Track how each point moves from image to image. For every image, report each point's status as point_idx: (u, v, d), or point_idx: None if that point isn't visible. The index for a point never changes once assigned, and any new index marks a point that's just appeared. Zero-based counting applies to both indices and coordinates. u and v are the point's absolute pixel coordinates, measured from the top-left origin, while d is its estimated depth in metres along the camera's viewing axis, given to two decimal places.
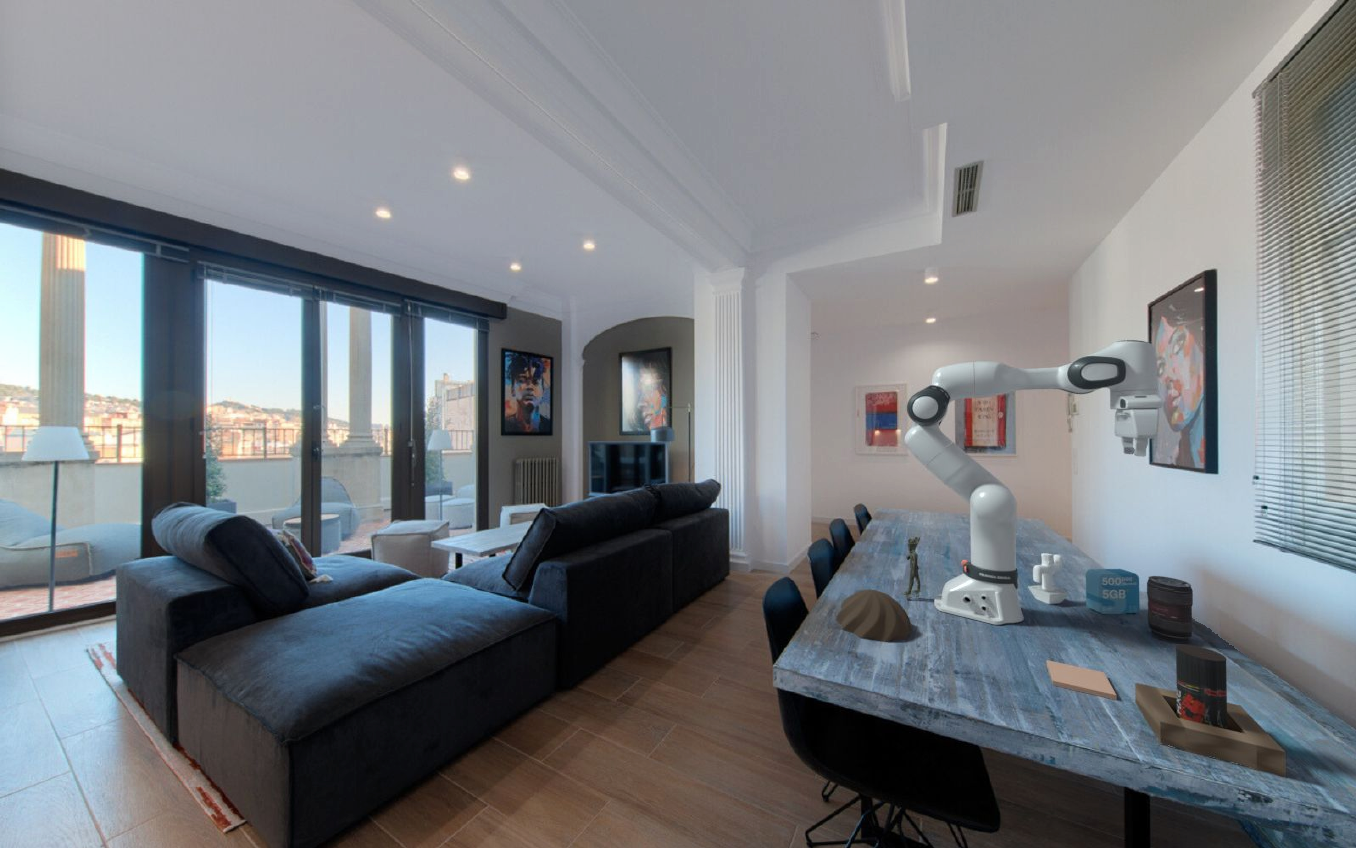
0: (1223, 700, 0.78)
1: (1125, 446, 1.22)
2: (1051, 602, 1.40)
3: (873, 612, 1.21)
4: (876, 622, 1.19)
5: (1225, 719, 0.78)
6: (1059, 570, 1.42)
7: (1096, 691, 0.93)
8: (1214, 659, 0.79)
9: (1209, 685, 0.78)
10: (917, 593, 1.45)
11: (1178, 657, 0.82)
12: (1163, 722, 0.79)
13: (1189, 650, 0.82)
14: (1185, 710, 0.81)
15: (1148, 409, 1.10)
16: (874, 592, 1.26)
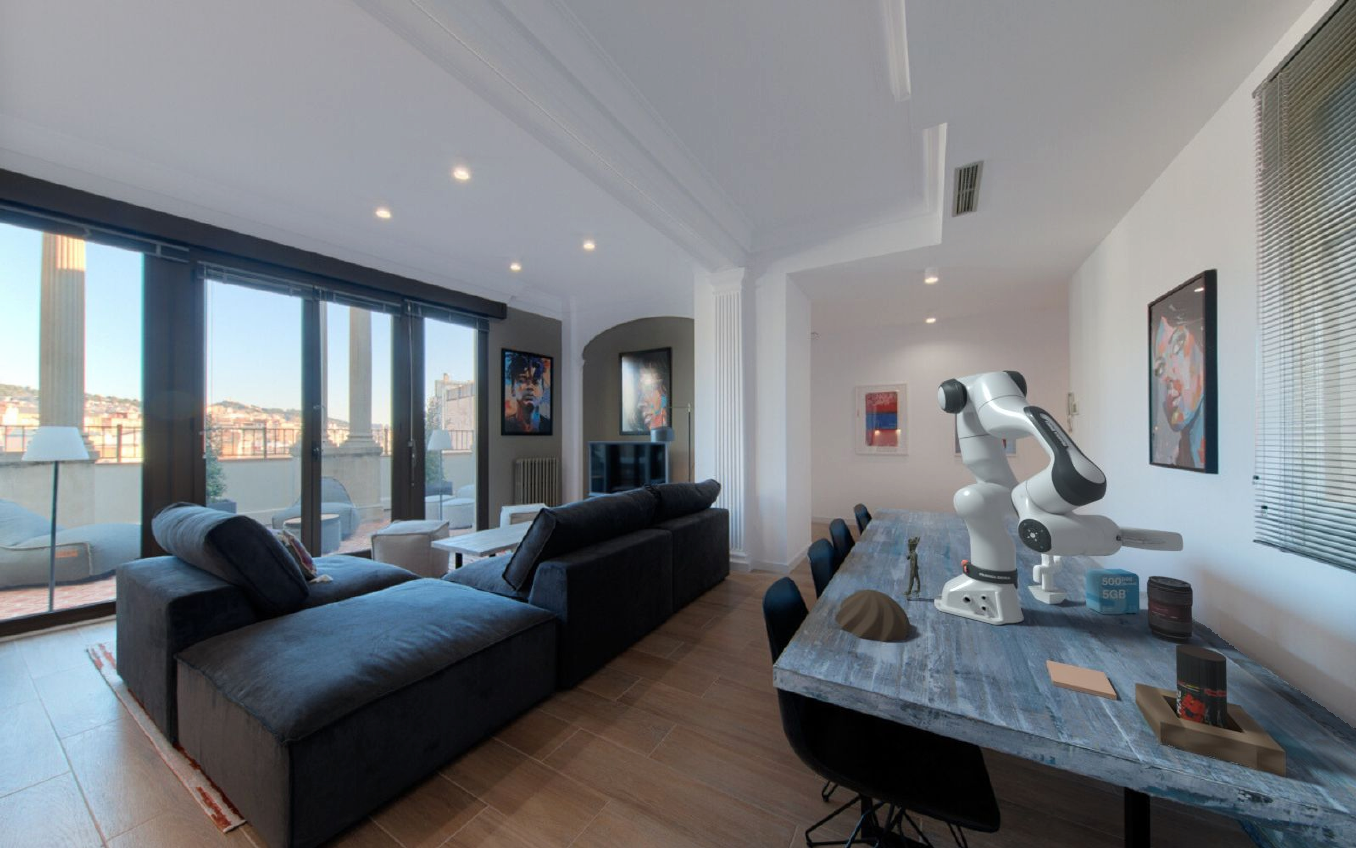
0: (1223, 700, 0.78)
1: None
2: (1051, 602, 1.40)
3: (871, 612, 1.21)
4: (873, 622, 1.19)
5: (1225, 719, 0.78)
6: (1059, 570, 1.42)
7: (1096, 691, 0.93)
8: (1214, 659, 0.79)
9: (1209, 685, 0.78)
10: (917, 593, 1.45)
11: (1178, 657, 0.82)
12: (1163, 722, 0.79)
13: (1189, 650, 0.82)
14: (1185, 710, 0.81)
15: None
16: (873, 592, 1.26)
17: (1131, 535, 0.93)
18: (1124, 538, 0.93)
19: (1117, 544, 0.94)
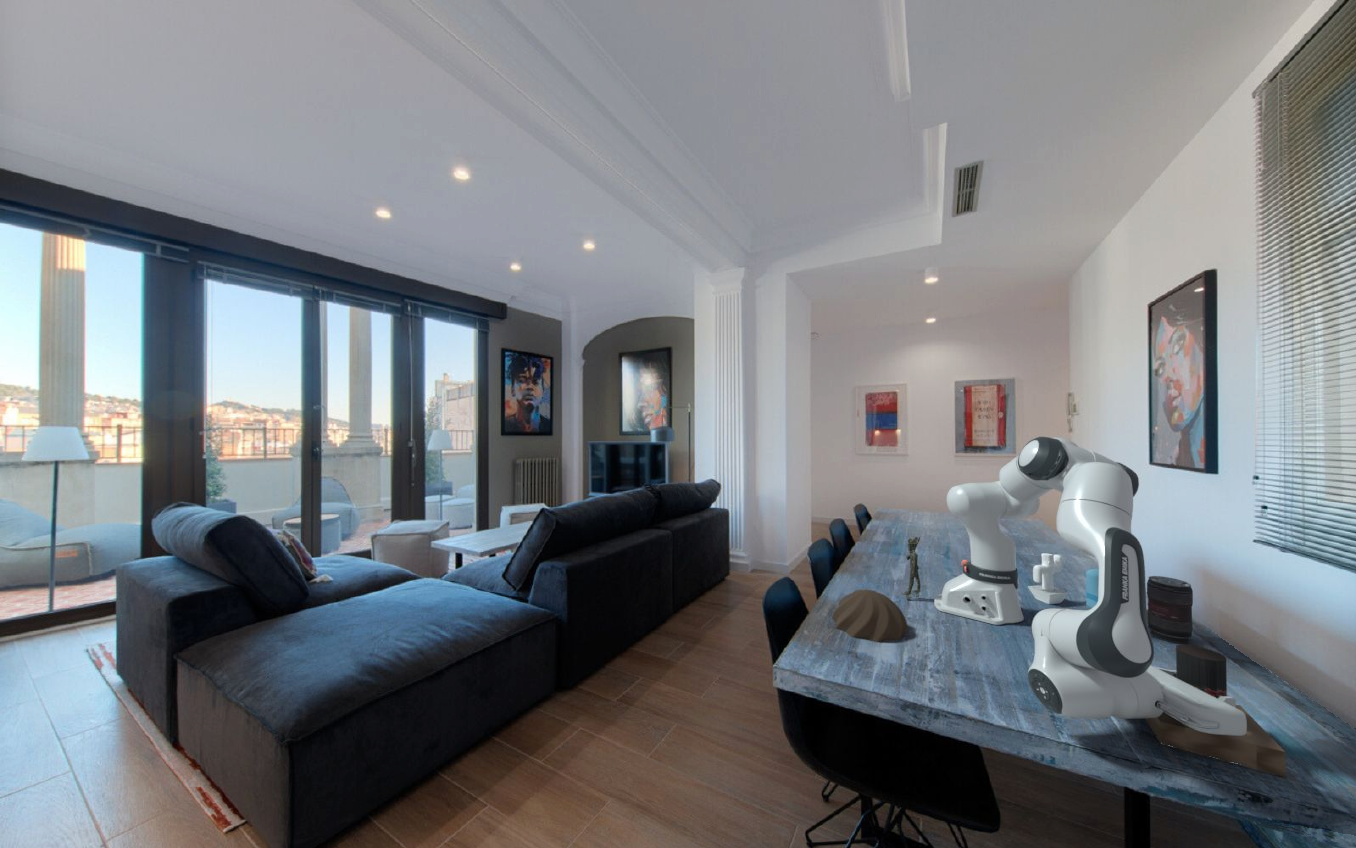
0: None
1: None
2: (1051, 602, 1.40)
3: (865, 612, 1.21)
4: (867, 622, 1.19)
5: None
6: (1059, 570, 1.42)
7: None
8: (1214, 659, 0.79)
9: (1209, 685, 0.78)
10: (917, 593, 1.45)
11: (1178, 657, 0.82)
12: (1163, 722, 0.79)
13: (1189, 650, 0.82)
14: None
15: None
16: (870, 592, 1.26)
17: (1175, 705, 0.75)
18: (1164, 708, 0.75)
19: (1156, 711, 0.77)
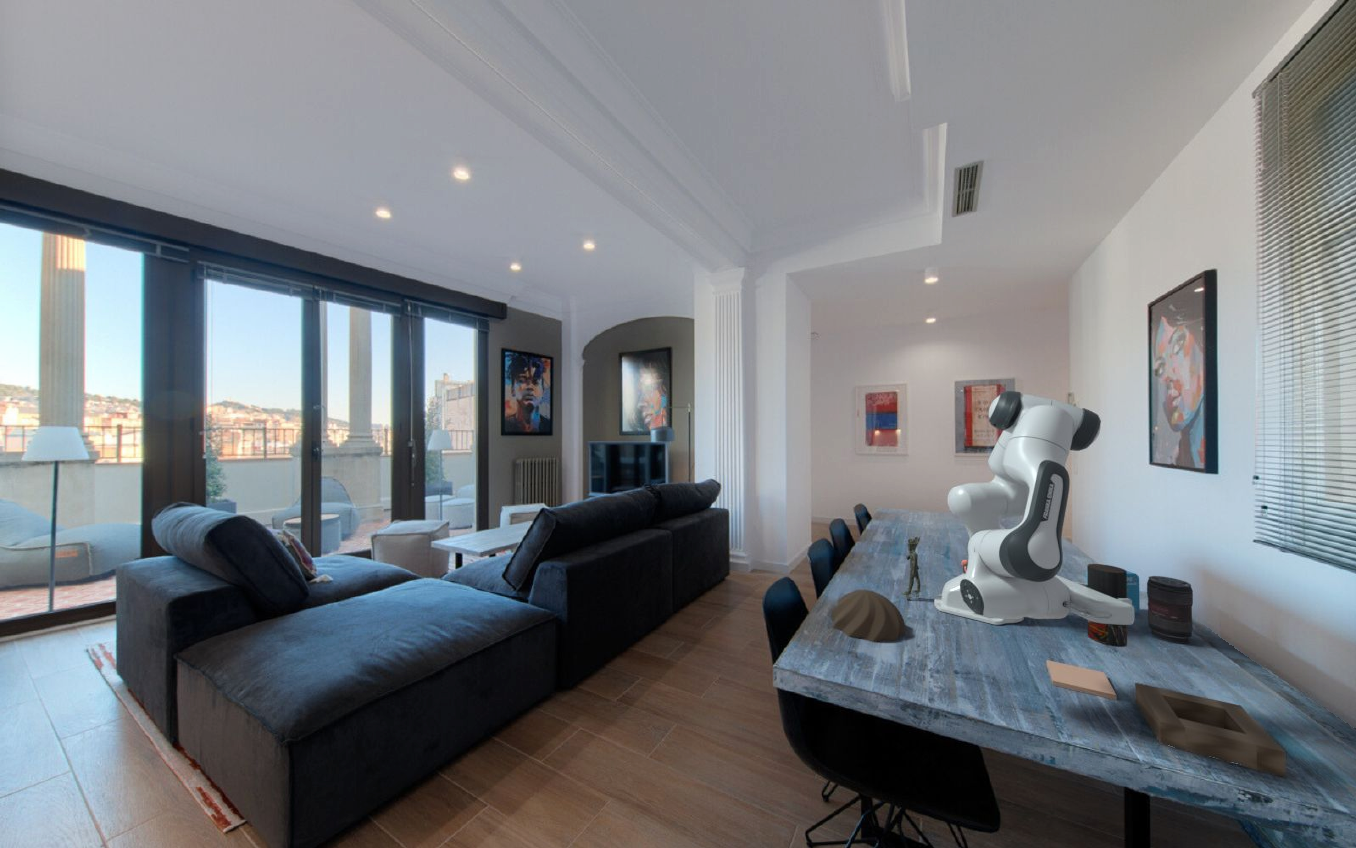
0: None
1: (1119, 599, 0.90)
2: None
3: (862, 611, 1.21)
4: (863, 621, 1.19)
5: None
6: (1059, 570, 1.42)
7: (1096, 691, 0.93)
8: (1116, 572, 0.91)
9: (1111, 594, 0.91)
10: (917, 593, 1.45)
11: (1088, 573, 0.95)
12: (1163, 722, 0.79)
13: (1097, 567, 0.94)
14: None
15: None
16: (867, 592, 1.26)
17: (1078, 603, 0.88)
18: (1069, 606, 0.88)
19: (1064, 610, 0.90)
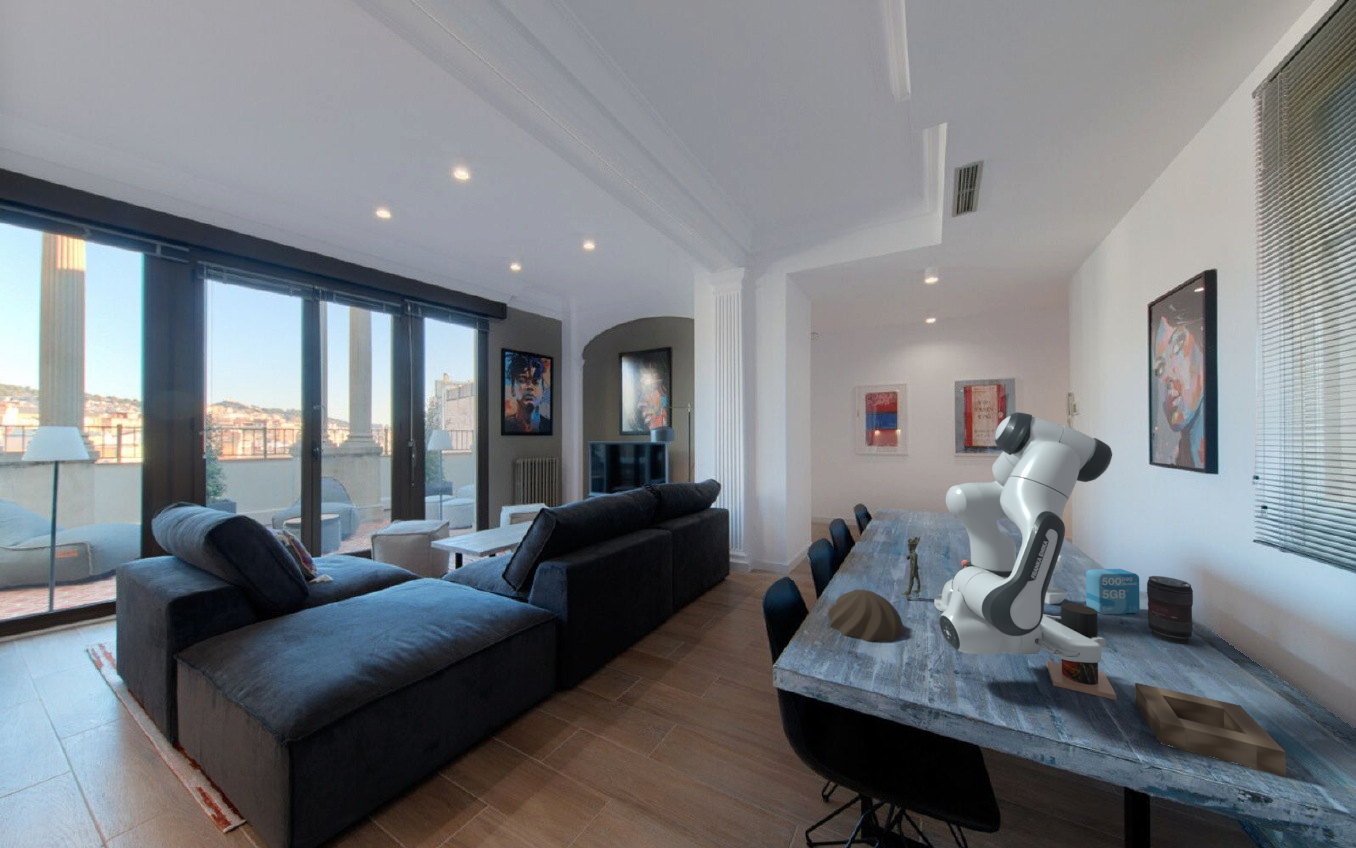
0: None
1: None
2: (1051, 602, 1.40)
3: (858, 611, 1.21)
4: (859, 621, 1.19)
5: None
6: (1059, 570, 1.42)
7: (1096, 691, 0.93)
8: (1087, 613, 0.96)
9: (1083, 634, 0.96)
10: (917, 593, 1.45)
11: (1061, 613, 0.99)
12: (1163, 722, 0.79)
13: (1070, 607, 0.99)
14: None
15: None
16: (865, 592, 1.26)
17: (1049, 641, 0.92)
18: (1041, 644, 0.93)
19: (1036, 647, 0.94)
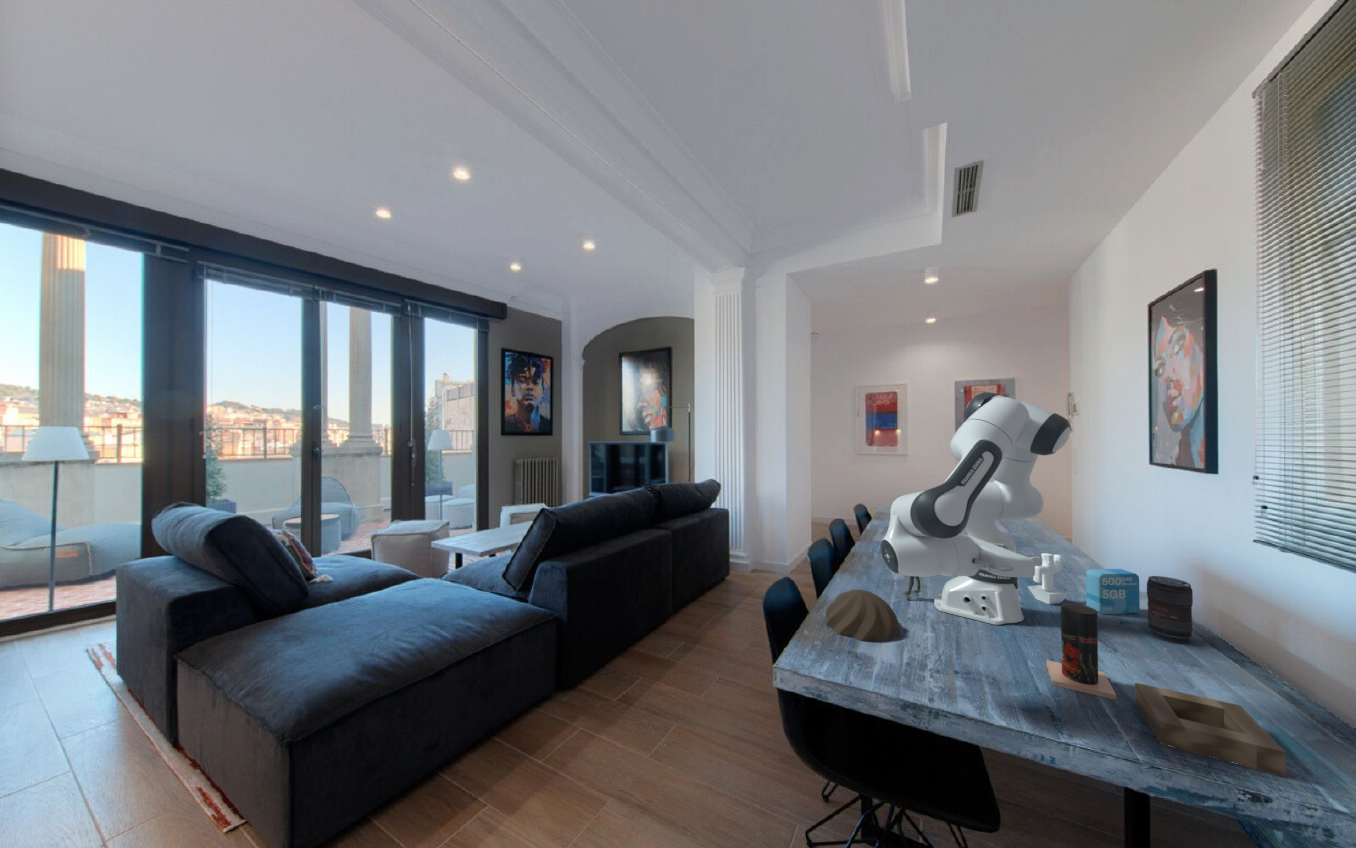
0: (1094, 646, 0.95)
1: None
2: (1051, 602, 1.40)
3: (853, 610, 1.22)
4: (853, 620, 1.20)
5: (1095, 662, 0.95)
6: (1059, 570, 1.42)
7: (1096, 691, 0.93)
8: (1087, 613, 0.96)
9: (1083, 634, 0.96)
10: (917, 593, 1.45)
11: (1061, 613, 0.99)
12: (1163, 722, 0.79)
13: (1070, 607, 0.99)
14: (1066, 656, 0.98)
15: None
16: (861, 592, 1.26)
17: (985, 559, 0.92)
18: (977, 562, 0.93)
19: (973, 567, 0.94)
